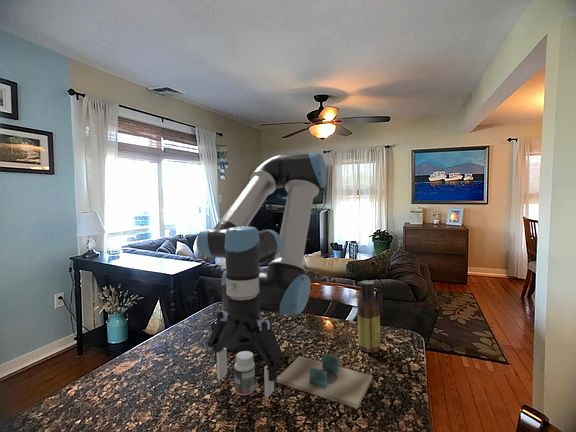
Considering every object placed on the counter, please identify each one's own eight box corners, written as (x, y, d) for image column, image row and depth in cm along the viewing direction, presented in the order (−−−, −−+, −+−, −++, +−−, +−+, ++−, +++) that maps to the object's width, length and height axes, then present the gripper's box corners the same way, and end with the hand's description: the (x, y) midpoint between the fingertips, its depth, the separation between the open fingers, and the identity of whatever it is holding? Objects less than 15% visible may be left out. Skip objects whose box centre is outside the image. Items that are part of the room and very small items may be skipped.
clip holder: (276, 382, 77) (276, 364, 77) (299, 359, 88) (299, 343, 87) (357, 408, 68) (357, 388, 67) (372, 379, 78) (372, 361, 78)
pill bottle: (232, 386, 76) (231, 352, 75) (251, 381, 78) (251, 348, 77) (237, 398, 71) (236, 362, 71) (257, 392, 73) (257, 357, 73)
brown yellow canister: (378, 344, 96) (378, 279, 95) (382, 354, 90) (383, 285, 89) (356, 343, 97) (356, 278, 95) (358, 353, 91) (358, 284, 89)
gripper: (191, 291, 76) (193, 377, 77) (281, 309, 64) (283, 411, 65) (213, 283, 82) (215, 363, 84) (299, 298, 70) (299, 391, 72)
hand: (244, 384), depth 74 cm, fingers open, 13 cm apart
